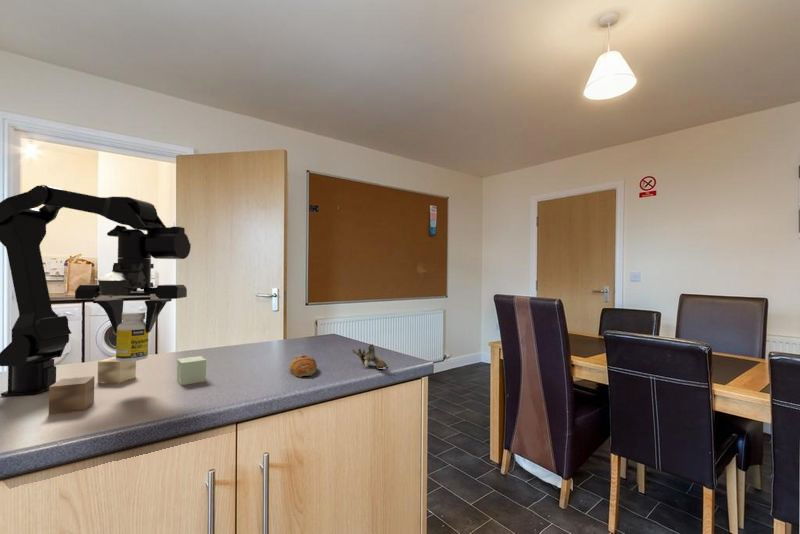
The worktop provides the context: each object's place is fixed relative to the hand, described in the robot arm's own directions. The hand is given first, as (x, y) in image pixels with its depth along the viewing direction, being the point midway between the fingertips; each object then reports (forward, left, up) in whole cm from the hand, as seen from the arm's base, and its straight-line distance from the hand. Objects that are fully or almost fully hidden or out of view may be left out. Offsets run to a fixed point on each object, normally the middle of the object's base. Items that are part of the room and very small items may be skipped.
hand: (133, 332), depth 77 cm
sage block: (+9, +7, -13) cm, 17 cm away
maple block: (-8, +10, -13) cm, 18 cm away
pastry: (+34, +11, -13) cm, 38 cm away
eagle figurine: (+52, +13, -13) cm, 55 cm away
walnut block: (-6, -8, -13) cm, 16 cm away
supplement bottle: (0, 0, -6) cm, 6 cm away
